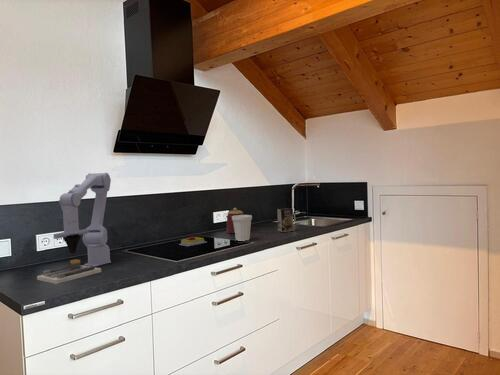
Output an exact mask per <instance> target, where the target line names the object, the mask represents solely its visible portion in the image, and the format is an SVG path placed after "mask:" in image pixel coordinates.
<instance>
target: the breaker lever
mask: <svg viewBox="0 0 500 375" xmlns="http://www.w3.org/2000/svg"><path fill="white" fill-rule="evenodd" d="M69 262H70V266H71V271H72V270H76V269H80V265H81V259H72V260H69Z"/></svg>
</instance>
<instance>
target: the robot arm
mask: <svg viewBox="0 0 500 375" xmlns="http://www.w3.org/2000/svg"><path fill="white" fill-rule="evenodd" d="M111 181H112V179H111V176H110V174H109V172H99V173H95V172H94V173H90V172H89V173H87V175H85V179H84V180H83V181H82V183H81V184H75V185H74V186H73V187H72V188H71V189H69V191H68V192H64V193H62V194H61V195H60V196H59V200H58V203H59V205H60V207H61V211H62V216H63V217H62V218H63V219H62V220H63V222H62V223H63V232H56V233H53V239H54V240H57V239H63V241H64V242H65V244H66V246H67V248H68V251H69V254H76V252H77V247H78V245H79V244H78V243H79V242H80V240H81V238H82V242H83V244H84V245H85V247H86V248H87V263H84V266H90V267H99V266H102V265H106V264H109V263H112V261H111V256H110V255H111V253H110V252H111V251H110V247H109V245H108V244H107V243H108V230H107V228H106V227H104V226H103V223H104V216H105V210H106V203H107V196H108V192H109V191H110V187H111ZM88 190H91V192H93V193H95V198H94V201H93V202H94V203H93V208H92V209H93V210H92V214H91V216H92V217H91V222H90V225H89V226H87V227H86V228H84V229H83V228H82V229H80V227H79V226H80V224H79V208H78V207H79V206H80V205H81V200H82V199H83V198H84V197H85V196H86V195H87V193H88ZM81 235H82V237H81Z"/></svg>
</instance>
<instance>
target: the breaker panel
mask: <svg viewBox="0 0 500 375" xmlns="http://www.w3.org/2000/svg"><path fill="white" fill-rule="evenodd" d="M98 273H99V274H100V273H102V268H101V267H97V266H95V267H93V266H87V265H82V264H80V269H76V270H72V271H71V265H70V266H67V267H66V266H65V267H62V268H61V267H60V268H57V269H53V270H50V269H48V270H43V271H42V274H41V275H37V276H36V280H37V281H40V282H45V283H50V284H54V285H57V284H59V285H60V284H61V283H65V282H70V281H72V280H76V279H80V278H84V277H87V276H91V275H94V274H95V275H96V274H98Z"/></svg>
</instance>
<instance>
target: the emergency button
mask: <svg viewBox="0 0 500 375" xmlns="http://www.w3.org/2000/svg"><path fill="white" fill-rule="evenodd" d="M206 243H208V241H205V238H204V237H197V236H189V237H187V238H183V239H181V240H180V243H179V244H178V245H179V246H184V247H191V246H196V245H201V244H206Z"/></svg>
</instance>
